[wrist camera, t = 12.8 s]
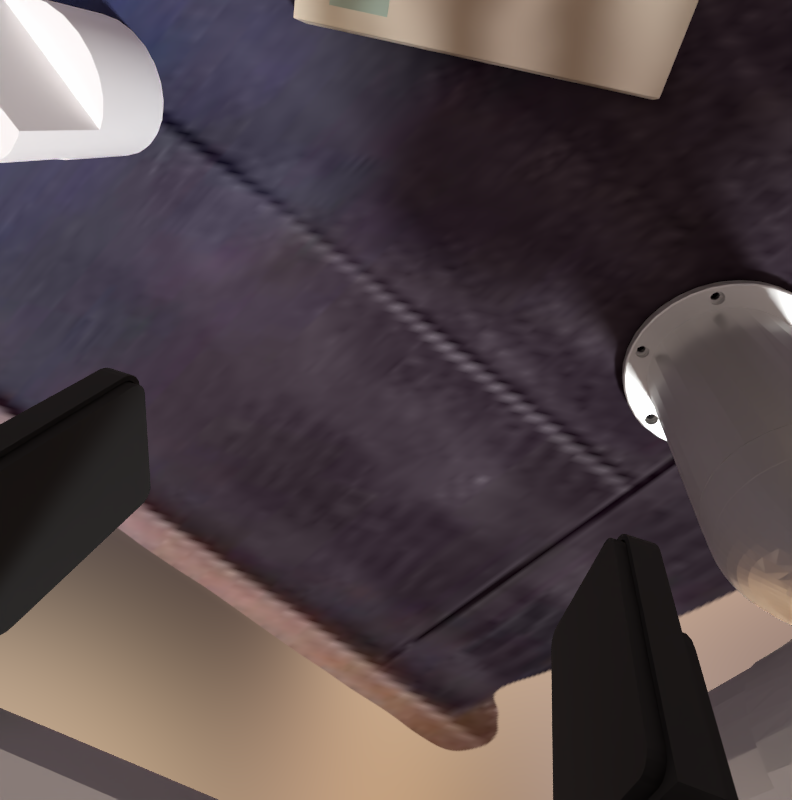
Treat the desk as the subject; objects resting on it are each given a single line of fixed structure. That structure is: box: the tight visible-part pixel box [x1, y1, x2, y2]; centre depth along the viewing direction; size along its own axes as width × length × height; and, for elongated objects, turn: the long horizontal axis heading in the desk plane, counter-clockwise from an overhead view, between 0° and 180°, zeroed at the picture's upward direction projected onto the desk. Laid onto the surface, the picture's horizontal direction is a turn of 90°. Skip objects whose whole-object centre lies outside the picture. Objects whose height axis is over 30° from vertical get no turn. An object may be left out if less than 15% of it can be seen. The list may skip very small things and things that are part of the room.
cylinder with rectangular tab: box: [0, 0, 163, 163], centre depth 33 cm, size 9×9×12 cm
